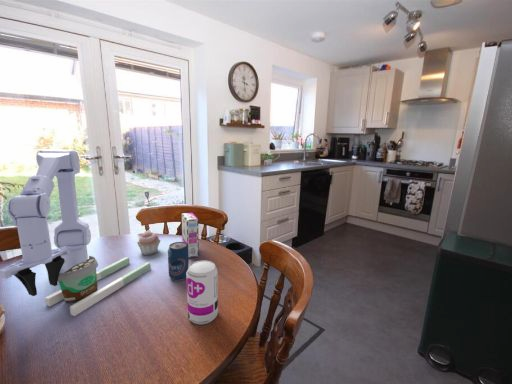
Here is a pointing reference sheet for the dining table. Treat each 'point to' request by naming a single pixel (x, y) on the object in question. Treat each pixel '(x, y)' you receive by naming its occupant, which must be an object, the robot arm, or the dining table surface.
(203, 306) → the supplement can
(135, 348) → the dining table surface
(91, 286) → the food container
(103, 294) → the parallel rails
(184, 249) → the soda can
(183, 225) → the candy bar box
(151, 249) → the cupcake
